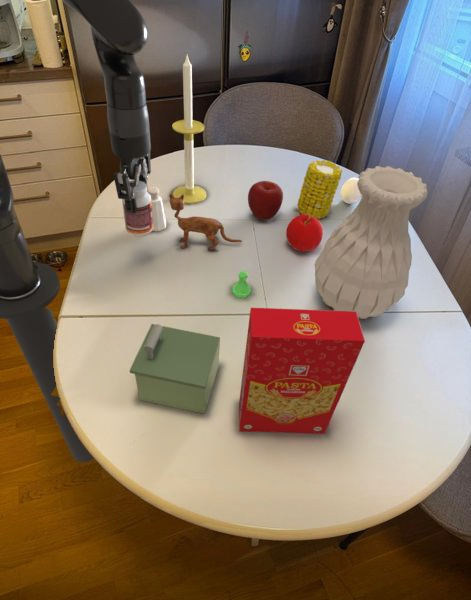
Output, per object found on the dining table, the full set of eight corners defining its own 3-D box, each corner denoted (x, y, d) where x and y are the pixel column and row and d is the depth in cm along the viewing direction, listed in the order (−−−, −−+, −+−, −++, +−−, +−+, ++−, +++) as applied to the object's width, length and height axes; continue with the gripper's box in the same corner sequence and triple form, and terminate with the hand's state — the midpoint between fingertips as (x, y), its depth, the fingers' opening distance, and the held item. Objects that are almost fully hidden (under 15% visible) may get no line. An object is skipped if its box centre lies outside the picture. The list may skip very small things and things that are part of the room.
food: (290, 211, 124) (320, 207, 127) (310, 224, 115) (341, 221, 118) (295, 158, 116) (327, 156, 119) (317, 168, 107) (350, 166, 110)
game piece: (236, 283, 98) (237, 263, 93) (253, 288, 97) (255, 268, 92) (229, 294, 95) (230, 274, 90) (246, 300, 94) (249, 280, 90)
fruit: (281, 252, 107) (286, 219, 100) (287, 233, 113) (293, 200, 106) (316, 260, 105) (325, 227, 98) (321, 240, 112) (329, 208, 105)
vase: (299, 271, 102) (326, 154, 81) (378, 270, 104) (423, 156, 83) (318, 334, 88) (356, 212, 67) (408, 331, 90) (473, 212, 69)
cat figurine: (241, 237, 110) (245, 191, 101) (242, 253, 106) (246, 206, 96) (172, 235, 109) (170, 188, 100) (170, 251, 105) (167, 203, 95)
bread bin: (139, 399, 74) (134, 374, 69) (159, 353, 82) (156, 327, 76) (204, 414, 73) (205, 389, 68) (218, 366, 80) (220, 340, 75)
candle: (165, 194, 123) (156, 51, 97) (189, 182, 129) (187, 44, 103) (189, 207, 119) (186, 62, 93) (213, 194, 125) (217, 54, 98)
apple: (284, 224, 116) (289, 192, 109) (251, 227, 114) (254, 195, 107) (273, 205, 122) (278, 174, 115) (242, 208, 120) (245, 176, 113)
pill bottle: (158, 232, 95) (155, 189, 88) (133, 240, 93) (128, 196, 85) (146, 218, 99) (142, 175, 91) (121, 225, 96) (115, 182, 88)
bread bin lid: (130, 373, 69) (126, 356, 66) (152, 326, 76) (149, 310, 73) (205, 389, 68) (205, 373, 64) (220, 340, 75) (220, 323, 72)
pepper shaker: (153, 218, 114) (150, 181, 107) (170, 224, 113) (168, 187, 105) (142, 228, 111) (137, 191, 103) (159, 234, 109) (156, 197, 102)
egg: (349, 195, 129) (356, 171, 124) (363, 205, 126) (371, 181, 120) (333, 199, 127) (339, 175, 121) (347, 210, 123) (354, 186, 118)
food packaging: (239, 431, 71) (251, 336, 53) (238, 404, 75) (250, 307, 57) (324, 433, 72) (364, 340, 54) (320, 406, 75) (356, 311, 58)
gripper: (124, 110, 85) (133, 185, 96) (94, 139, 75) (107, 218, 86) (160, 116, 84) (164, 190, 96) (134, 146, 74) (142, 225, 86)
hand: (137, 203), depth 91 cm, fingers closed on pill bottle, 6 cm apart
